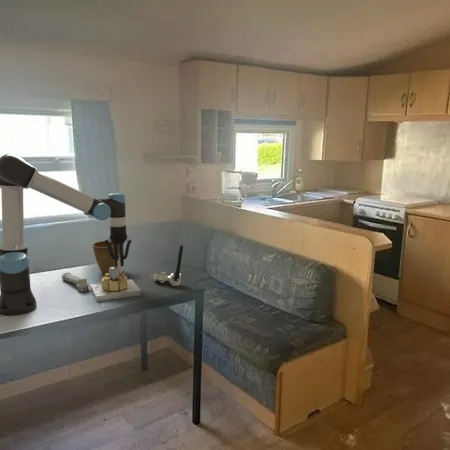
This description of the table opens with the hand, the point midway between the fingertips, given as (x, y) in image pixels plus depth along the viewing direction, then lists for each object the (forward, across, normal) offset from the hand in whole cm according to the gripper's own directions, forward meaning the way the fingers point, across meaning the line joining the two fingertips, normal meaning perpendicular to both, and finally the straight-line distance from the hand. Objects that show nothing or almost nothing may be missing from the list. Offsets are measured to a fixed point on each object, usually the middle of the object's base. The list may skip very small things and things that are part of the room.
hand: (120, 272), depth 226 cm
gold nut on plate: (+6, 0, +11) cm, 13 cm away
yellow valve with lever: (+4, +1, +7) cm, 8 cm away
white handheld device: (+7, +22, +1) cm, 23 cm away
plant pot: (+7, +12, -21) cm, 25 cm away
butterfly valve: (+7, -22, -3) cm, 23 cm away
